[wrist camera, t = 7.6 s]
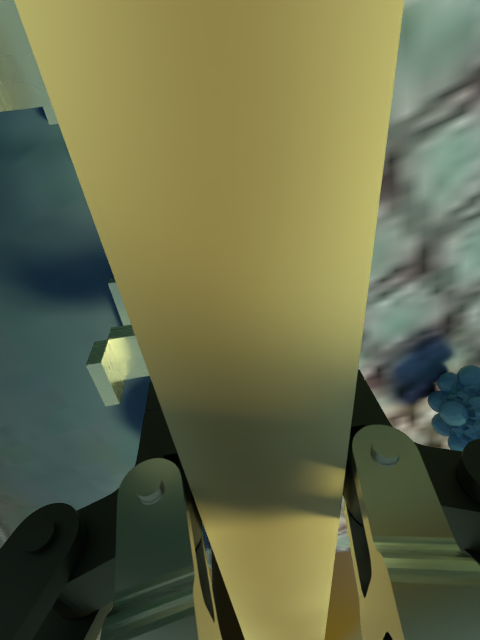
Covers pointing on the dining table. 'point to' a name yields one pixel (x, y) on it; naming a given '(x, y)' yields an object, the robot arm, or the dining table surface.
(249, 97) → the birch batten
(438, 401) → the grapes
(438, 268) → the dining table surface
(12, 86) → the hook rack
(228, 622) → the olive oil
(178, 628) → the robot arm
